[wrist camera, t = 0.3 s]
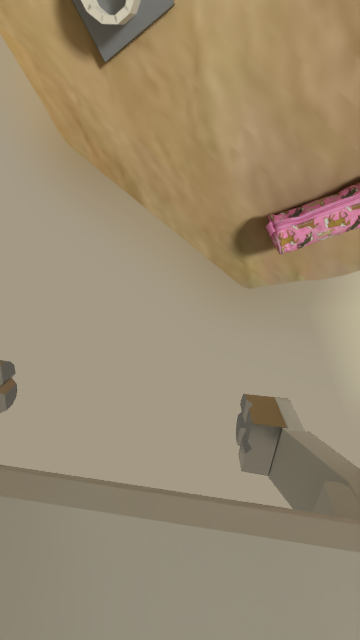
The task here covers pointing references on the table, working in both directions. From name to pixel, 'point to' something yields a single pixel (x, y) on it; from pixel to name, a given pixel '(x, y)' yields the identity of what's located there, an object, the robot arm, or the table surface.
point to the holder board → (119, 21)
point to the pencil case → (316, 220)
